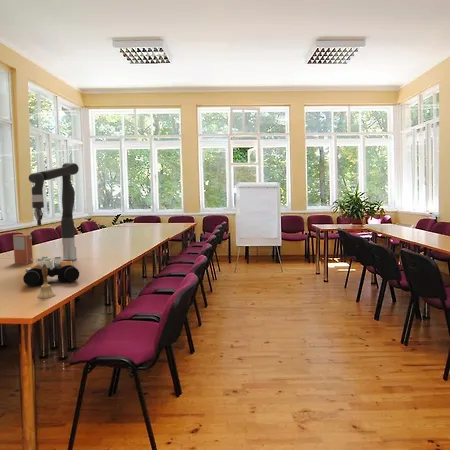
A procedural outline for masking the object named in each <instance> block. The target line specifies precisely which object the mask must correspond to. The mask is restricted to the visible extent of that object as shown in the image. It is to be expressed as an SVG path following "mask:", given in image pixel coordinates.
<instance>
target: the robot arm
mask: <svg viewBox="0 0 450 450" xmlns="http://www.w3.org/2000/svg"><path fill="white" fill-rule="evenodd" d="M79 169H80V168H79V166H78V164H77V163H75V162H65V163H63V164H62V165H61V167H56V168H55V167H54V168H50V169H47V170H43V171H42V170H41V171H39V172H31V173H30V174H29V175H28V180H29V182H30V183H32V184H34V186H32V187H31V206H32V207H31V208H33V209H35V210H34V218H35V220H36V223H37V226H39V227H40V226H42V220H43V215H44V212H43V210H42V209H44V207H45V202H44V201H45V200H44V194H43V189H44V188H43V187H44V184H45V183H44V182H45V181H50V180H53V179H56V178H60V177H61V178H62V184H61V185H62V187H61V188H62V189H61V190H62V192H61V207H62V215H61V219H60V226H61V244H62V245H61V247H62V248H61V249H62V261H73V260H74V261H75V260H77V259H78V258H77V257H78V256H77V247H76V241H75V240H76V239H75V237H76V236H75V222H74V218H73V215H74V214H73V210H74V206H75V200H76V199H75V197H76V192H75V188H74V186H73V184H72V178H71V177H72V175H77V173H79Z"/></svg>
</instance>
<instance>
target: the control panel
mask: <svg viewBox="0 0 450 450" xmlns="http://www.w3.org/2000/svg"><path fill="white" fill-rule="evenodd" d="M32 239H33V237H32V234H31V233H30V234H28V233H27V234H22V233H21V234H19V233H18V234H13V235H12V242H13V257H14V259H13V260H14V264H22V265H24V264H25V265H26V264H27V265H29V264H33V263H34V257H33V256H34V255H33V243H32Z"/></svg>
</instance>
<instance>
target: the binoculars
mask: <svg viewBox="0 0 450 450" xmlns="http://www.w3.org/2000/svg"><path fill="white" fill-rule="evenodd" d="M72 265H73V264H72ZM72 265H66V266H63V267H54V268H53V269H50V268H47V269H48V274H47V277H50V278H53V277H55V276H57V279H58V280H59V282H61V283H72V282H75V281H77V280H79V277H80V271H79V269H78V268H76V266H74V265H73V266H72ZM22 280H23V282H24V284H26V286H29V287H37V286H42V285H43V284H44V277H43V274H42V269H39V268H32V269H30V270H28V271H25V273H24V275H23V279H22Z"/></svg>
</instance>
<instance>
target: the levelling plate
mask: <svg viewBox="0 0 450 450" xmlns="http://www.w3.org/2000/svg"><path fill="white" fill-rule="evenodd" d="M40 259H44V260H45V264H46V266H47V268H50V269H53V268H54V259H53V260H52V258H51V257H49V256H42V257H40ZM30 269H31V267H28V268H27V267H26V268H25V272H27V271H28V270H30Z"/></svg>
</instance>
